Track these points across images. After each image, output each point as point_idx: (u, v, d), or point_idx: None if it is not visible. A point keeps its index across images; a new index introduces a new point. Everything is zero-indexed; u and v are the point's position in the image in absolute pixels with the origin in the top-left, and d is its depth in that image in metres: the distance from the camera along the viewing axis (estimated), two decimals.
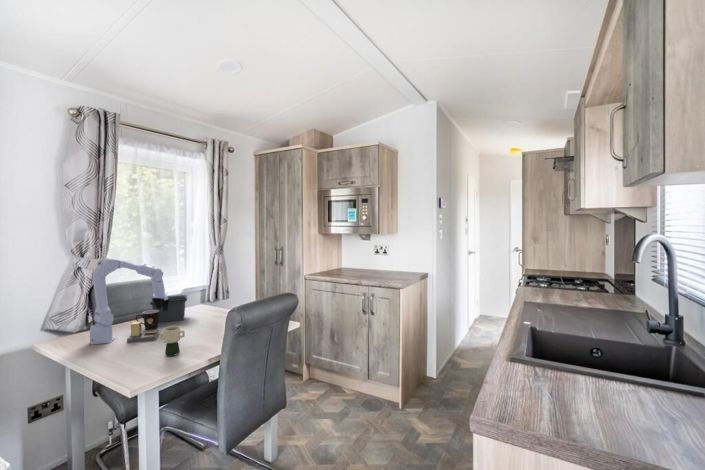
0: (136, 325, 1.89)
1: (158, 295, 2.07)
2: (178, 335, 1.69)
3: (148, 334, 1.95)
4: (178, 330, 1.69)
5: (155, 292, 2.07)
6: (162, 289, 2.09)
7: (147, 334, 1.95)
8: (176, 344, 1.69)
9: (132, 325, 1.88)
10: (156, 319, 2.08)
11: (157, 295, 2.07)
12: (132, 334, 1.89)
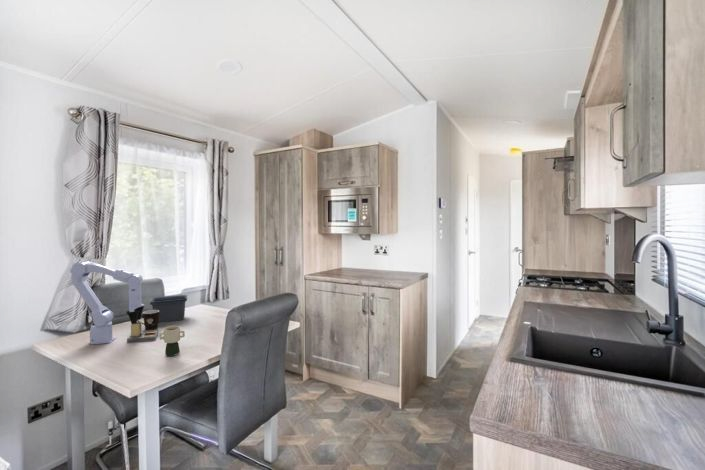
0: (136, 325, 1.89)
1: (130, 305, 1.87)
2: (178, 335, 1.69)
3: (148, 334, 1.95)
4: (178, 330, 1.69)
5: (129, 300, 1.88)
6: (135, 299, 1.88)
7: (147, 334, 1.95)
8: (176, 344, 1.69)
9: (132, 325, 1.88)
10: (156, 319, 2.08)
11: (130, 304, 1.88)
12: (132, 334, 1.89)
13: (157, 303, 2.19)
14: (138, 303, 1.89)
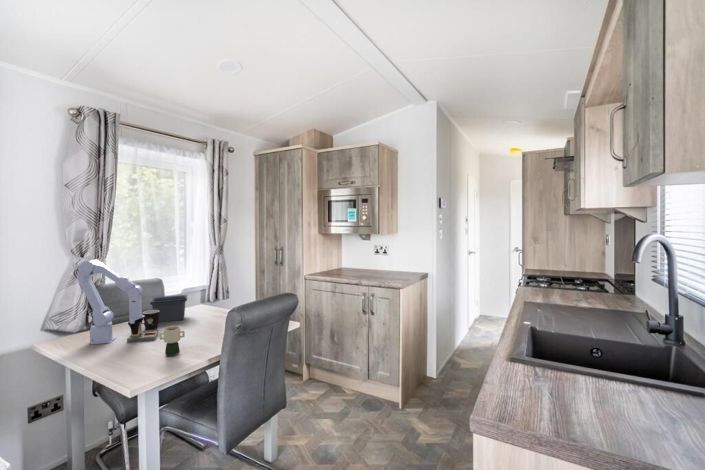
0: None
1: (130, 316, 1.88)
2: (178, 335, 1.69)
3: (148, 334, 1.95)
4: (178, 330, 1.69)
5: None
6: (136, 310, 1.88)
7: (147, 334, 1.95)
8: (176, 344, 1.69)
9: None
10: (156, 319, 2.08)
11: (130, 316, 1.88)
12: (132, 334, 1.89)
13: (157, 303, 2.19)
14: (138, 314, 1.89)
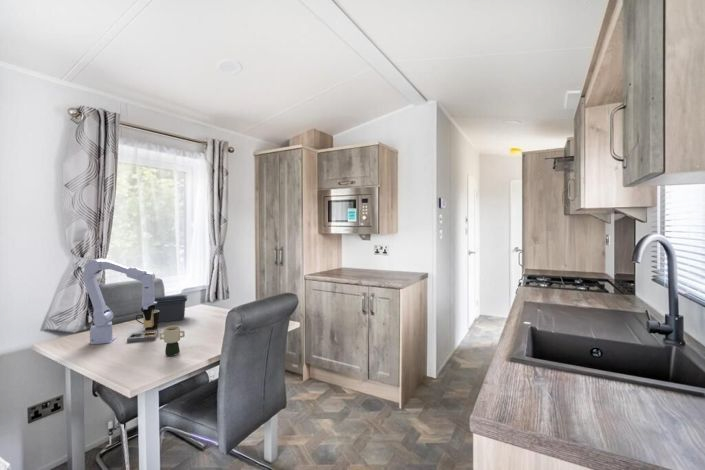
0: None
1: (143, 302, 1.89)
2: (178, 335, 1.69)
3: (148, 334, 1.95)
4: (178, 330, 1.69)
5: (142, 298, 1.90)
6: (149, 297, 1.90)
7: (147, 334, 1.95)
8: (176, 344, 1.69)
9: None
10: (156, 319, 2.08)
11: (143, 302, 1.90)
12: (145, 321, 1.90)
13: (157, 303, 2.19)
14: (151, 301, 1.91)
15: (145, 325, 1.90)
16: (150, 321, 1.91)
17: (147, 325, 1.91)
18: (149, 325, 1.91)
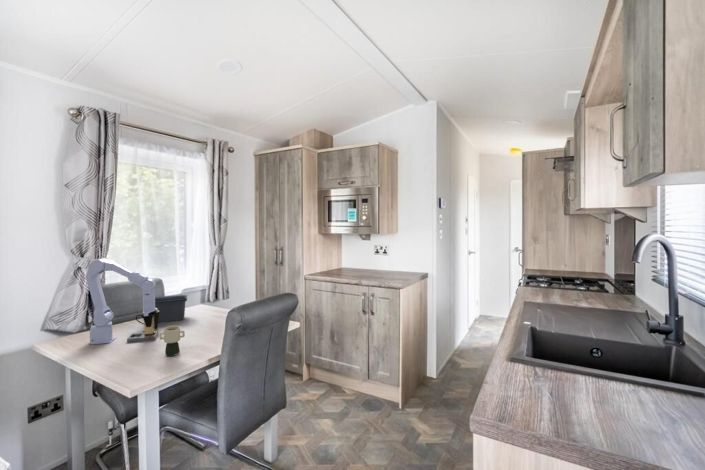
0: None
1: (144, 309, 1.90)
2: (178, 335, 1.69)
3: (148, 334, 1.95)
4: (178, 330, 1.69)
5: (143, 305, 1.90)
6: (149, 303, 1.90)
7: (147, 334, 1.95)
8: (176, 344, 1.69)
9: None
10: (156, 319, 2.08)
11: (143, 308, 1.90)
12: (145, 327, 1.90)
13: (157, 303, 2.19)
14: (152, 307, 1.91)
15: (146, 332, 1.91)
16: (151, 328, 1.91)
17: (148, 332, 1.91)
18: (149, 332, 1.91)
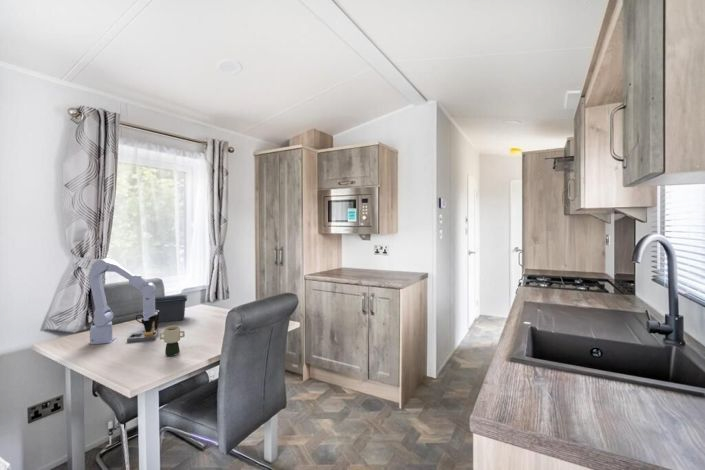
0: None
1: (144, 313, 1.90)
2: (178, 335, 1.69)
3: None
4: (178, 330, 1.69)
5: (143, 309, 1.90)
6: (149, 308, 1.90)
7: None
8: (176, 344, 1.69)
9: None
10: (156, 319, 2.08)
11: (144, 313, 1.90)
12: (145, 333, 1.91)
13: (157, 303, 2.19)
14: (152, 312, 1.91)
15: None
16: (151, 333, 1.91)
17: None
18: None
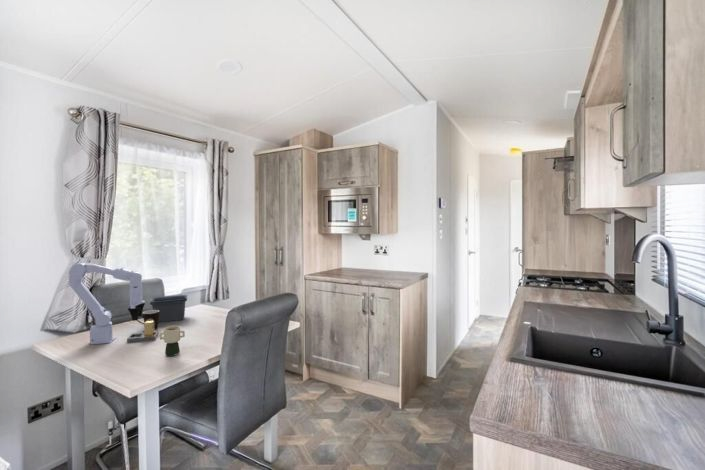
0: (149, 324, 1.91)
1: (131, 301, 1.91)
2: (178, 335, 1.69)
3: None
4: (178, 330, 1.69)
5: (130, 297, 1.92)
6: (136, 296, 1.91)
7: None
8: (176, 344, 1.69)
9: (145, 324, 1.90)
10: (156, 319, 2.08)
11: (131, 301, 1.91)
12: (145, 333, 1.91)
13: (157, 303, 2.19)
14: (139, 300, 1.92)
15: None
16: (151, 333, 1.91)
17: None
18: None
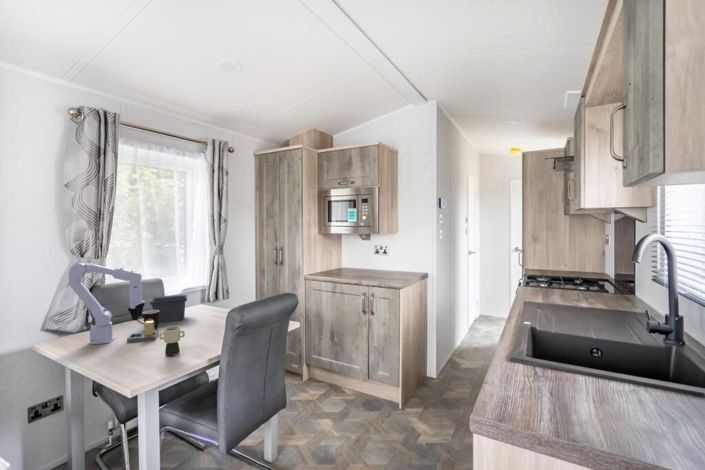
0: (149, 324, 1.91)
1: (131, 301, 1.91)
2: (178, 335, 1.69)
3: None
4: (178, 330, 1.69)
5: (130, 297, 1.92)
6: (136, 296, 1.91)
7: None
8: (176, 344, 1.69)
9: (145, 324, 1.90)
10: (156, 319, 2.08)
11: (130, 301, 1.91)
12: (145, 333, 1.91)
13: (157, 303, 2.19)
14: (139, 300, 1.92)
15: None
16: (151, 333, 1.91)
17: None
18: None
